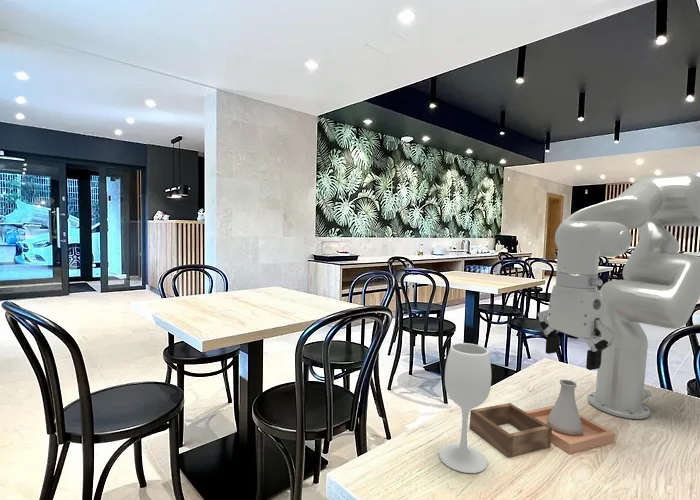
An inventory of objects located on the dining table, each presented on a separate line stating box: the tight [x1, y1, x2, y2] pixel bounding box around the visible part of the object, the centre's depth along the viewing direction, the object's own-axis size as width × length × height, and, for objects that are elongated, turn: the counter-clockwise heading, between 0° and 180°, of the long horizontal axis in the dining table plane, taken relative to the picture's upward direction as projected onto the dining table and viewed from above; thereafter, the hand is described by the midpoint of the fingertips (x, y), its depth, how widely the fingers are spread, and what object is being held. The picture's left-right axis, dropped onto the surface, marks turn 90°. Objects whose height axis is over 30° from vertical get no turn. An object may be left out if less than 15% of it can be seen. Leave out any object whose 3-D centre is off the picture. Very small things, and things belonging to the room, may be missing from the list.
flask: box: [547, 379, 584, 435], centre depth 82 cm, size 7×7×10 cm
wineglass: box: [438, 342, 492, 474], centre depth 71 cm, size 9×9×21 cm
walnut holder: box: [469, 402, 552, 459], centre depth 79 cm, size 11×11×4 cm
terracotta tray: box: [524, 405, 616, 455], centre depth 83 cm, size 13×13×2 cm
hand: (571, 360), depth 82 cm, fingers open, 9 cm apart
